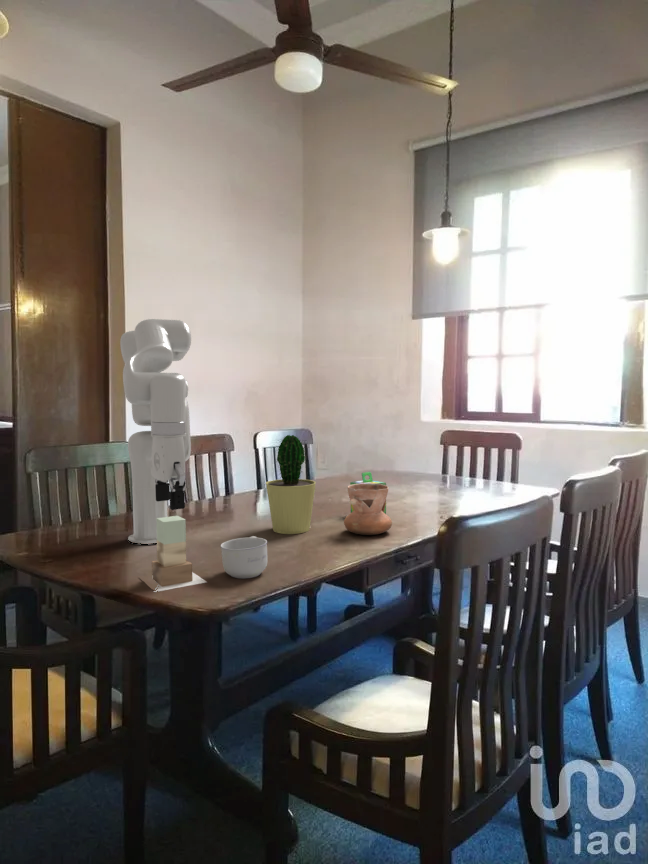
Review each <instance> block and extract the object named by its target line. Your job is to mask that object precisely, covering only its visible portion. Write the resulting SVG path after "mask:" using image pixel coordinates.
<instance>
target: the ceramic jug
mask: <svg viewBox="0 0 648 864" xmlns="http://www.w3.org/2000/svg"><path fill="white" fill-rule="evenodd" d="M347 493H348V497H349V501H348V503H349V504H350V506H351V505H353V507H354V511H353V512H352V513H351V512H350V513H349V514H348V515H347V516H346V517H345V519H344V520H343V524H344V527H345V529H346V530H348V531H349V532H350V533H353V534H356V535H361V536H375V535H380V534H383V533H386V532H387V531H389V530H390V529H391V527H392V526H393V521H392V519H391V517H390V516H389V515H387V513H386V514H385V513H384V509H385V504H386V505H387V497H388V493H389V486H388V485H387V484H386V485H382V484H377V483H375V484H372V483H361V484H352V485H350V484H349V485H348V486H347Z"/></svg>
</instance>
